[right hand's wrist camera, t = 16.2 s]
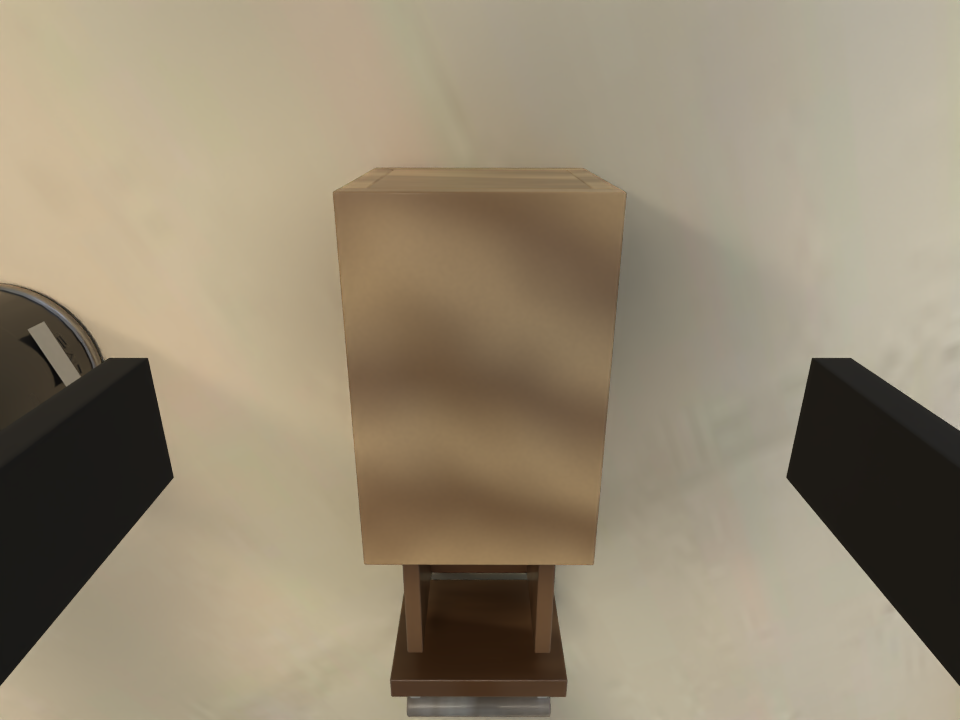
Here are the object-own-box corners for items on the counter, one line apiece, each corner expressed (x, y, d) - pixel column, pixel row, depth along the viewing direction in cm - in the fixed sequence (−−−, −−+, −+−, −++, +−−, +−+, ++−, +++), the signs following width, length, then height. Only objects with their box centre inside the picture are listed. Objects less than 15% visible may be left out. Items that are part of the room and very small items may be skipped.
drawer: (547, 661, 41) (560, 771, 35) (410, 661, 41) (396, 771, 35) (563, 376, 34) (585, 445, 27) (395, 376, 34) (373, 445, 27)
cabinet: (566, 456, 37) (594, 565, 28) (391, 456, 37) (363, 565, 28) (584, 168, 31) (627, 192, 22) (374, 167, 31) (332, 191, 22)
